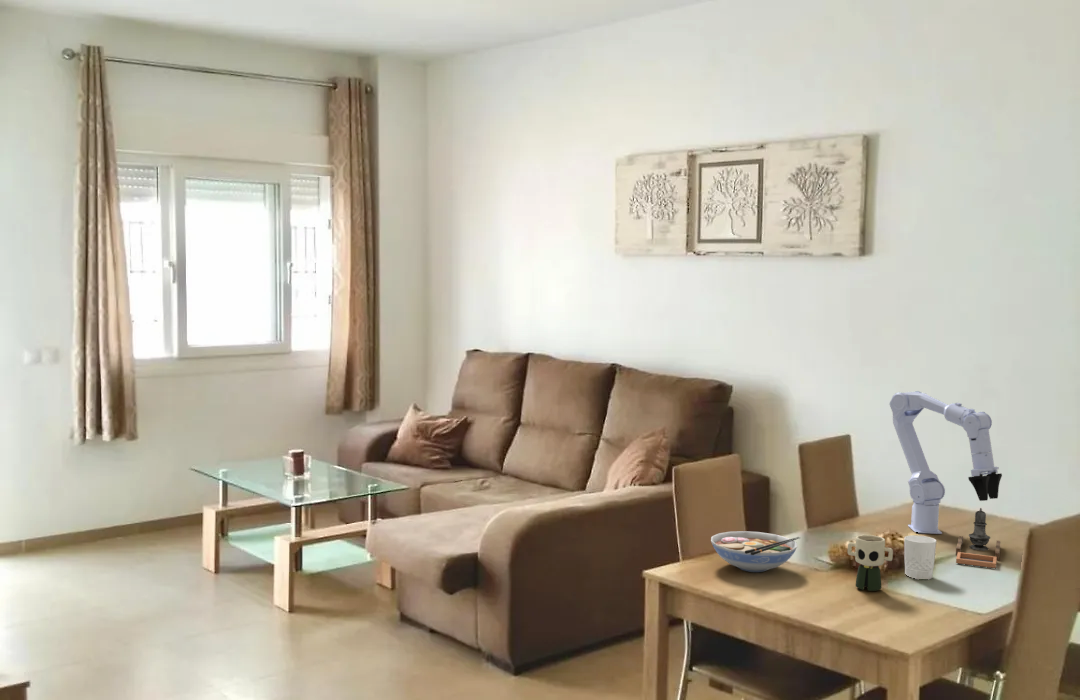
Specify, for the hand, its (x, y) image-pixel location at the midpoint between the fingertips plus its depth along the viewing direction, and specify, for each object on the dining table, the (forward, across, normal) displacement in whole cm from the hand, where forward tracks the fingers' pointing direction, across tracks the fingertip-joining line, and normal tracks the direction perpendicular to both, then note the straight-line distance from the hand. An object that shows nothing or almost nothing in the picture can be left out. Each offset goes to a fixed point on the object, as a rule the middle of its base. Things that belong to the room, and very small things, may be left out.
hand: (988, 499), depth 299 cm
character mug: (+17, -65, +8) cm, 67 cm away
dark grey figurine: (+14, -2, +4) cm, 15 cm away
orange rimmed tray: (+14, -6, +3) cm, 16 cm away
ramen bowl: (+11, -71, +36) cm, 81 cm away
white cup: (+17, -44, +4) cm, 47 cm away
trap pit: (+16, -19, -1) cm, 25 cm away
